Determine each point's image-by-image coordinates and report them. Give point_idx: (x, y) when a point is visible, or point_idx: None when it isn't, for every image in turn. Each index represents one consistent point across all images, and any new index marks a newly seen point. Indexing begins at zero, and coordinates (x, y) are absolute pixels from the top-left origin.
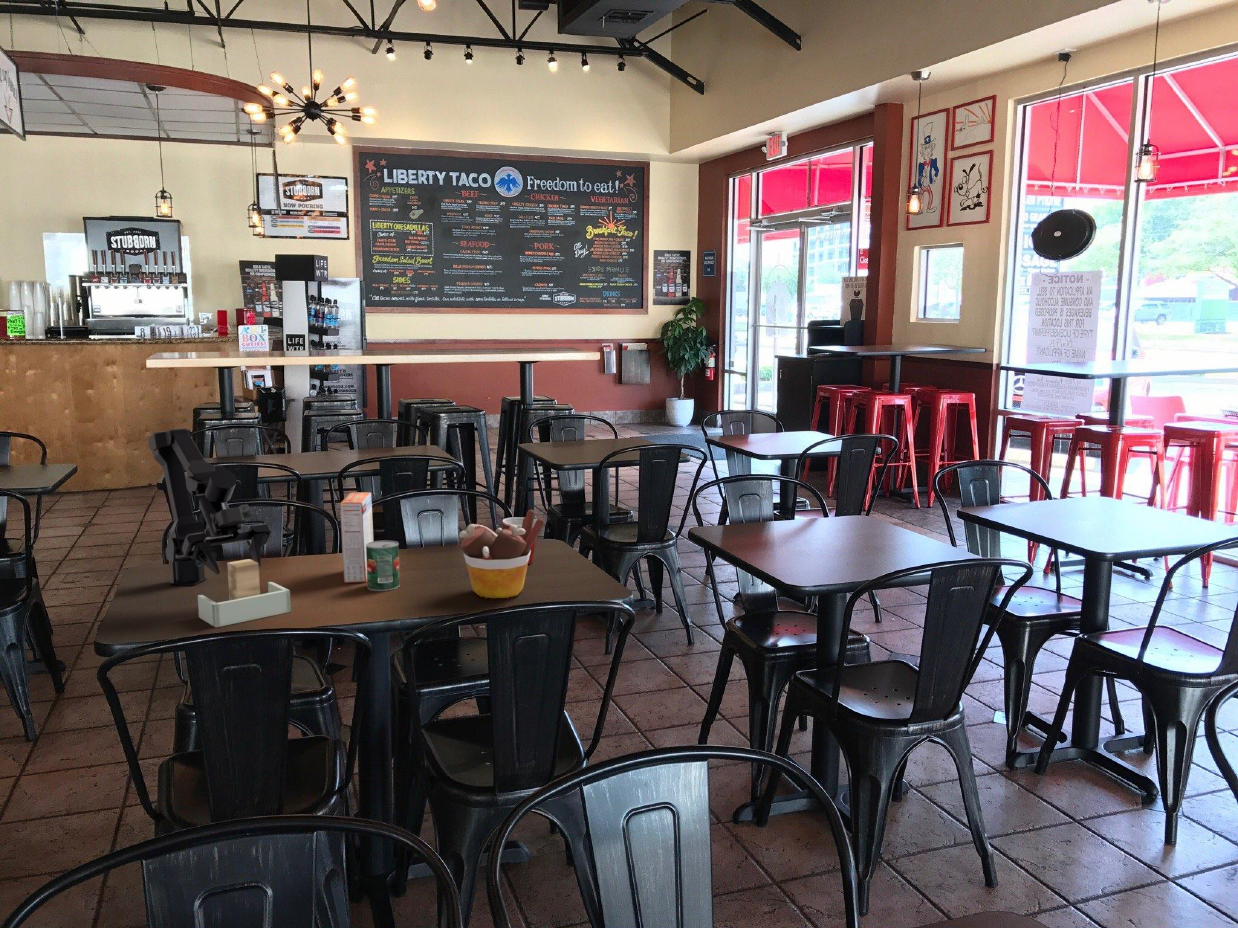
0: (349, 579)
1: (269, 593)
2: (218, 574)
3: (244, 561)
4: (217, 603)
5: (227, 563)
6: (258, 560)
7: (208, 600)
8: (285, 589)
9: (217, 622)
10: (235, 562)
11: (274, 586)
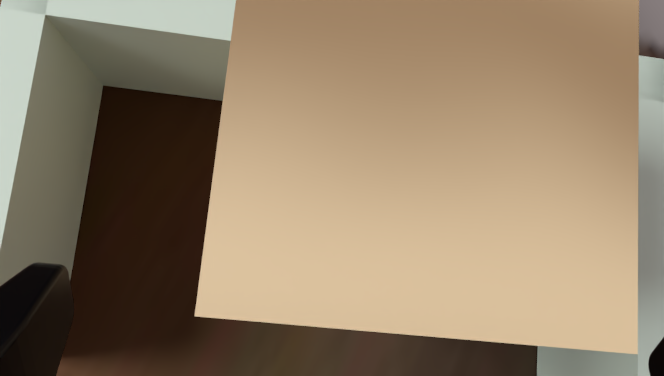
0: None
1: (198, 17)
2: (654, 354)
3: (367, 196)
4: (639, 79)
5: (628, 342)
6: (8, 311)
7: (660, 215)
8: (19, 19)
9: None
10: (525, 245)
11: (10, 220)
